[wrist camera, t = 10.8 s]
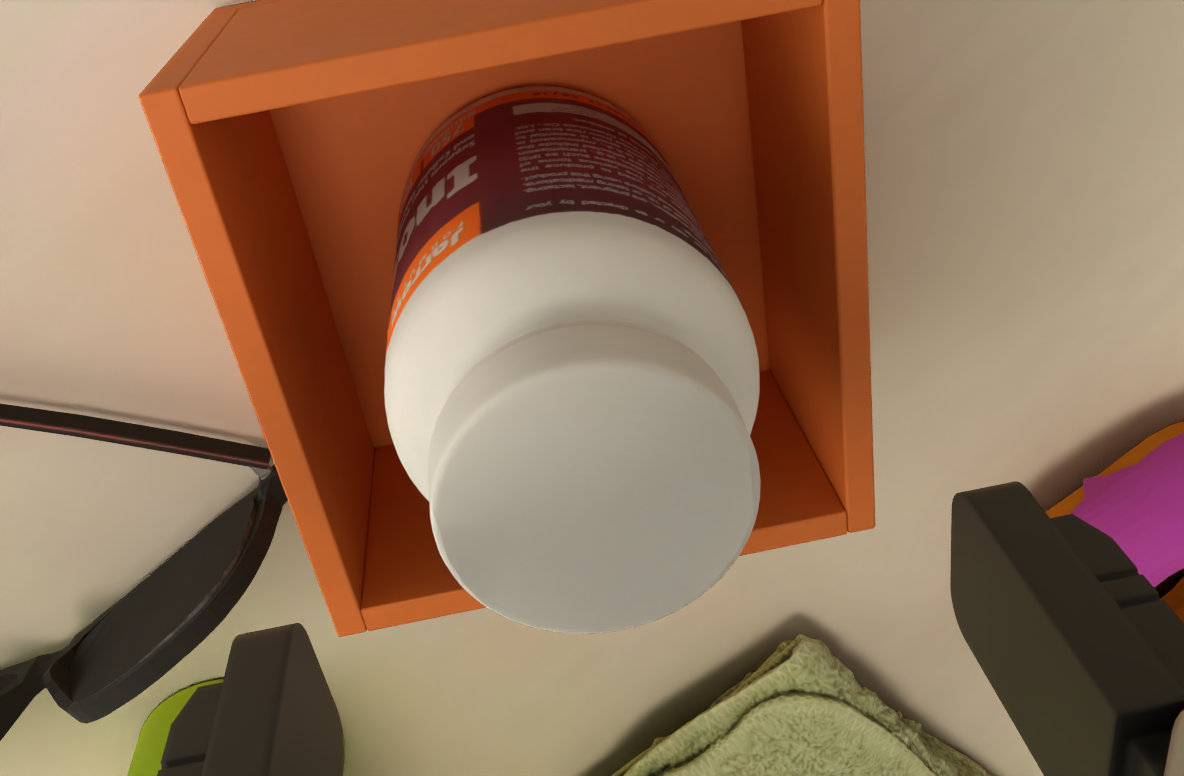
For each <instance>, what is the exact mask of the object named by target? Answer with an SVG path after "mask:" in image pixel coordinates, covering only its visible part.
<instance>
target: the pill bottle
mask: <svg viewBox="0 0 1184 776" xmlns="http://www.w3.org/2000/svg"><path fill="white" fill-rule="evenodd" d="M387 335H388V336H387V347H386V359H385V368H384V374H385V387H384V397H385V409H386V415H387V421H388V427H389V430H390V434H391V437H392V440H393V443H394V446H395V449H396V452H397V454H398V456H399V459H400V461H401V463H402V465H403V467H404V468H405V470H406V472H407V474H408V475H409V477H410V479H411V480H412V481H413V483H414V484H415V486H416V487H417V488H418V490H419V491H420V492H421V493H422V494H423V496H424V497H425V498H426V499H427V500H428V501H429V502H430V519H431V525H432V531H433V535H434V538H435V542H436V545H437V547H438V550H439V553H440V555H441V557H442V559H443V561H444V562H445V564H446V566H447V567H448V569H449V570H450V572H451V573H452V575H453V576H454V578H455V579H456V580H457V581H458V583H459V584H460V585H461V586H462V587H463V588H464V589H465V590H466V591H467V592H468V593H469V594H470V595H471V596H472V597H474V598H475V599H476V600H477V601H479V602H480V603H481V604H483V605H484V606H486V607H487V608H489V609H491V610H492V611H494V612H496V613H497V614H499V615H501V616H503V617H505V618H507V619H510V620H512V621H514V622H516V623H519V624H523V625H526V626H529V627H532V628H536V629H541V630H546V631H552V632H558V633H569V634H592V633H606V632H614V631H619V630H623V629H627V628H631V627H636V626H640V625H643V624H646V623H649V622H653V621H655V620H657V619H660V618H662V617H665V616H667V615H669V614H671V613H673V612H675V611H677V610H679V609H680V608H682V607H684V606H686V605H688V604H689V603H691V602H692V601H693V600H695V599H696V598H698V597H699V596H701V595H702V594H703V593H704V592H706V591H707V590H708V589H709V588H710V587H712V586H713V585H714V584H715V583H716V582H717V581H718V580H719V579H720V578H721V577H722V576H723V575H724V574H725V573H726V572H727V571H728V569H729V568H730V567H731V566H732V564H733V563H734V562H735V560H736V559H737V558H738V556H739V555H740V553H741V552H742V550H743V548H744V546H745V544H746V542H747V541H748V539H749V537H750V534H751V532H752V529H753V527H754V524H755V520H756V516H757V513H758V508H759V501H760V485H761V479H760V471H759V463H758V459H757V454H756V451H755V448H754V445H753V442H752V440H751V437H750V434H751V431H752V428H753V424H754V421H755V418H756V413H757V408H758V401H759V359H758V353H757V348H756V344H755V340H754V336H753V332H752V330H751V327H750V324H749V321H748V319H747V316H746V313H745V311H744V309H743V308H742V305H741V303H740V300H739V298H738V296H737V294H736V292H735V290H734V289H733V287H732V285H731V283H730V281H729V279H728V278H727V276H726V274H725V272H724V270H723V267H722V266H721V264H720V262H719V260H718V259H717V257H716V255H715V253H714V251H713V249H712V246H711V245H710V243H709V242H708V240H707V238H706V236H705V235H704V233H703V231H702V229H701V227H700V225H699V223H698V221H697V219H696V217H695V215H694V213H693V211H692V209H691V207H690V206H689V204H688V202H687V200H686V198H685V196H684V194H683V192H682V190H681V188H680V186H679V184H678V182H677V181H676V179H675V176H674V174H673V172H672V170H671V169H670V167H669V165H668V163H667V161H666V159H665V157H664V156H663V154H662V153H661V152H660V150H659V149H658V147H657V146H656V145H655V143H654V142H653V141H652V139H651V138H650V137H649V135H648V134H647V133H646V132H645V131H644V130H643V129H642V128H641V127H640V126H639V125H638V124H637V123H636V122H635V121H634V120H633V119H632V118H630V117H629V116H628V115H627V114H625V113H624V112H623V111H621V110H620V109H618V108H617V107H615V106H613V105H612V104H610V103H608V102H606V101H604V100H602V99H599V98H597V97H595V96H592V95H590V94H587V93H584V92H580V91H577V90H573V89H568V88H563V87H552V86H527V87H521V88H515V89H509V90H505V91H502V92H498V93H495V94H493V95H490V96H487V97H485V98H482V99H480V100H478V101H476V102H474V103H473V104H471V105H469V106H467V107H465V108H464V109H462V110H461V111H459V112H458V113H456V114H455V115H453V116H452V117H451V118H449V119H448V120H447V121H446V122H445V123H444V124H443V125H442V126H441V127H439V128H438V129H437V130H436V131H435V133H434V134H433V135H432V136H431V137H430V139H429V140H428V141H427V142H426V144H425V145H424V146H423V148H422V150H421V151H420V153H419V154H418V156H417V158H416V160H415V162H414V164H413V166H412V168H411V170H410V172H409V175H408V178H407V181H406V184H405V188H404V192H403V196H402V200H401V205H400V210H399V215H398V231H397V244H396V257H395V266H394V279H393V290H392V301H391V313H390V321H389V325H388V331H387Z"/></svg>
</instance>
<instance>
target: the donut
mask: <svg viewBox="0 0 1184 776" xmlns="http://www.w3.org/2000/svg"><path fill="white" fill-rule="evenodd" d="M1046 514H1047V515H1048V516H1049V517H1050V518H1054V517H1059V516H1064V515H1069V514H1073V515H1075V516H1077V517H1078V518H1080V519H1082V520H1083V521H1085V522H1087V523H1089V524H1090V525H1092V526H1094V527H1095V528H1097V529H1099V530H1100V531H1102V532H1104V533H1105V534H1107V535H1109V536H1110V537H1112V538H1113V539H1114V541H1115V542H1116V543H1117V544H1118V545H1119V547H1120V548H1121V549H1122V550H1123V551H1124V553H1125V554H1126V555H1127V556H1128V557H1129V559H1130V560H1131V561H1132V562H1133V563H1134V564H1135V566H1136V567H1137V569H1138V573H1139V575H1141V574H1143V575H1144V576H1145V578H1146V579H1147V580H1148V581H1149V582H1150V584H1151V585H1152V586H1153V587H1154V588H1155V587H1156V586H1157V585H1158V584H1160V583H1161V582H1162V581H1164V580H1165V579H1166V578H1167V577H1169V576H1170V575H1172V574H1174V573H1176V572H1177V571H1179V570H1181V569H1184V421H1183V422H1179V423H1176V424H1172V425H1170V426H1168V427H1166V428H1164V429H1162V430H1160V431H1158V432H1157V433H1155V434H1153V435H1151V436H1149V437H1148V438H1147V439H1145V440H1144V441H1142V442H1141V443H1140V444H1138V445H1137V446H1135V447H1134V448H1133V449H1131V450H1130V451H1128V452H1127V453H1126V454H1124V455H1123V456H1122V457H1121V458H1119V459H1118V460H1117V461H1115V462H1114V463H1113V464H1112V465H1110V466H1109V467H1108V468H1106V469H1105V470H1104V471H1102V472H1101V473H1100V474H1099V475H1097V476H1096V477H1090V478H1084V479H1083V486H1082V487H1080V488H1079V489H1077V490H1076V491H1075V492H1073V493H1072V494H1070V495H1069V496H1067V497H1066V498H1064V499H1063V500H1062V501H1060V502H1059V503H1057V504H1056V505H1054V506H1053V507H1052V508H1050V509H1049V510H1047V511H1046ZM1160 600H1165V601H1166V603H1167V604H1168V605H1169V606H1170V607H1171V609H1172V610H1173V611H1174V612H1175V613H1176V615H1177V616H1178V617H1179V618H1180V619H1181V620H1182V622H1183V623H1184V576H1183V577H1182V579H1181V580H1180V581H1179V582H1178V583H1177V585H1176V586H1175V587H1174V588H1173V589H1172V590H1170V591H1169V592H1168V593H1167V594H1166V595H1164V596H1163V597H1162V598H1161V599H1160Z"/></svg>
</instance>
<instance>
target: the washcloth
mask: <svg viewBox="0 0 1184 776" xmlns="http://www.w3.org/2000/svg"><path fill="white" fill-rule="evenodd" d="M921 729H922V725H921V724H920V723H914V720H910V719H904V718H903V717H902V713H901V712H900V711H898V712H895V711H894V710H893V709H892V708H890V707H888V706H887V705H885V704H884V703H883V701H882V700H880V699H879V698H878V697H877V694H876V693H875V692H874V691H870V690H869V689H867V688H866V687H865V686H864V687H863V688H862V687H861V686H860V685H859V684H858V682H857V681H856V680H855V676H854V673H853V672H852V671H851V670H849V669H848V668H846V667H845V666H844V665H843V663H842V662H841V661H840V660H839V659H837V658H836V657H834V656H832V655H831V653H830V651H829V648H828V647H827V646H826V645H825V644H824V643H823V641H821V640H816V639H812V638H810V637H807V636H805V635H802V634H800V635H798V636H797V638H795V639H794V640H793V641H789V640H786V641H783V642H782V643H781V644H780V645H779V646H778V647H777V649H776V651H775V652H774V653H773V654H772V655H771V656H769V657H768V659H767V660H766V661H765V662H764V663H763V664H762V665H761V666H760V667H759V668H758V669H757V670H756V671H755V672H749V673H748V674H746V675H745V677H744V679H743V680H742V681H740V682H739V683H738V684H736V685H735V686H733V687H732V688H730V689H729V690H727V691H726V692H725V693H723V694H722V695H721V696H720V697H719V698H717V699H716V700H715V701H714V702H713V703H712V705H711V706H710V707H709V708H708V710H707V711H705V712H702V713H701V714H699V715H698V716H696V717H695V718H694V719H692V720H691V721H689V722H688V723H686V724H685V725H684V726H682V727H681V728H679V729H678V730H677V731H675V732H674V733H673V734H671V735H669V736H667V737H658V738H656V739H654V742H653V745H652V746H651V747H650V748H648V749H647V750H645V751H643V752H642V753H641V754H639V755H638V756H636V757H635V758H634V759H632V760H631V761H630V762H629V763H627V764H626V765H624V766H623V767H622V768H621V769H620V770H618V771H616V772H615V773H614V774H613V775H612V776H992V775H990V774H989V773H987V772H986V771H985V770H984V768H983V767H981V766H980V765H978V764H977V763H975V762H974V761H973V760H971V759H970V758H968V757H967V756H965V755H964V754H962V753H959V752H957V751H956V750H954V749H952V748H950V747H949V746H947V745H945V744H944V743H942V742H940V741H939V740H937V738H936V737H933V736H931V735H929V734H928V733H925V732H924V731H922V730H921Z"/></svg>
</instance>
